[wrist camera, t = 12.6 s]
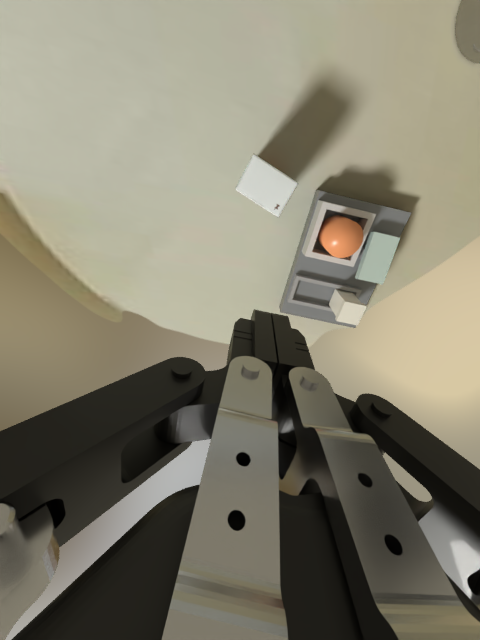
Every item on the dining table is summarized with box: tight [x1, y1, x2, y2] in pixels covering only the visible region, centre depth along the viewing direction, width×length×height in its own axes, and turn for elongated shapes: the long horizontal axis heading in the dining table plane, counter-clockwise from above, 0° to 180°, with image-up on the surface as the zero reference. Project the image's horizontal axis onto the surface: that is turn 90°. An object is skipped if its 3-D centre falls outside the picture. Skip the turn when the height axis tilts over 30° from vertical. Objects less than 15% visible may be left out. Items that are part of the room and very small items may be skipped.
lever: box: [329, 289, 367, 325], centre depth 43 cm, size 3×3×6 cm
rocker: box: [355, 232, 400, 285], centre depth 40 cm, size 7×4×1 cm, turn 168°
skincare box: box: [235, 154, 298, 217], centre depth 35 cm, size 6×4×12 cm
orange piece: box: [317, 215, 364, 258], centre depth 38 cm, size 5×5×5 cm
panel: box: [279, 190, 411, 328], centre depth 43 cm, size 20×14×6 cm
